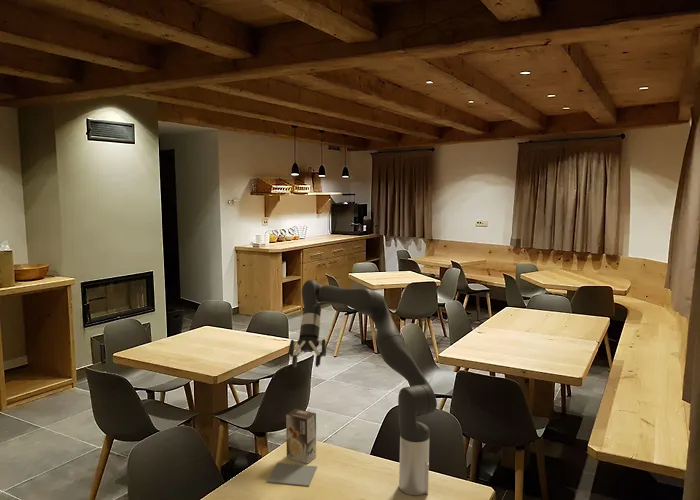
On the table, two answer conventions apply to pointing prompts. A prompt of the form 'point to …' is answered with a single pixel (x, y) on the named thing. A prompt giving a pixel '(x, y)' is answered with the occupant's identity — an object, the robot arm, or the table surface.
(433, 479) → the table surface
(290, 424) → the coffee box
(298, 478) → the rubber mat
